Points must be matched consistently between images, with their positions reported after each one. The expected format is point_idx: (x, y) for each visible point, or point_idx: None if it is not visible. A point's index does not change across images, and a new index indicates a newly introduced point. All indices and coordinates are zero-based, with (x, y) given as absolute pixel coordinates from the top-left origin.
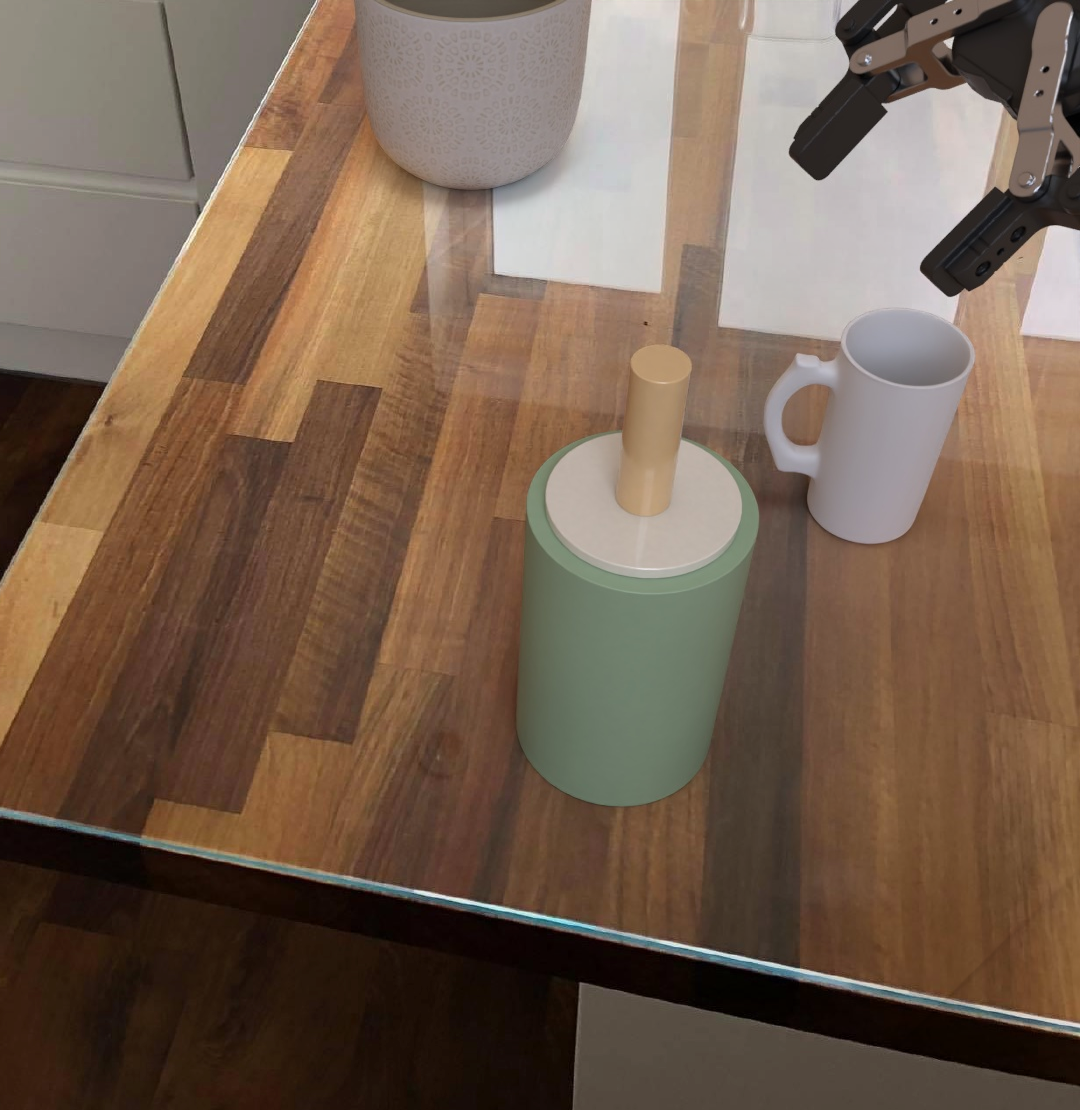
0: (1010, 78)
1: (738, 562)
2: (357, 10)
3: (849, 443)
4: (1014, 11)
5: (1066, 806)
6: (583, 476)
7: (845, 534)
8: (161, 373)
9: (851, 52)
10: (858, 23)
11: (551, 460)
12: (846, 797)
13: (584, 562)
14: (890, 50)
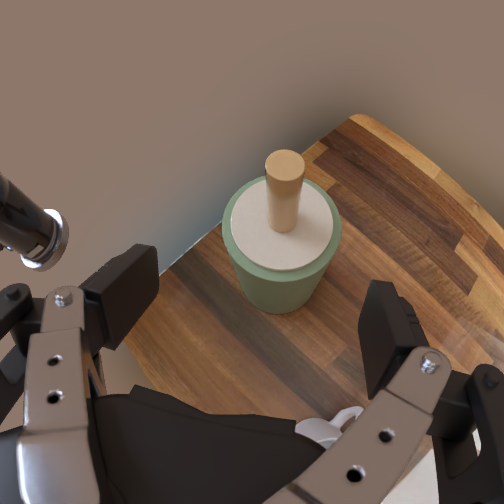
0: (144, 415)
1: (223, 237)
2: None
3: (317, 428)
4: None
5: (155, 387)
6: (311, 205)
7: (301, 421)
8: (492, 229)
9: (458, 376)
10: (487, 386)
11: (334, 207)
12: (202, 327)
13: None
14: (413, 387)
